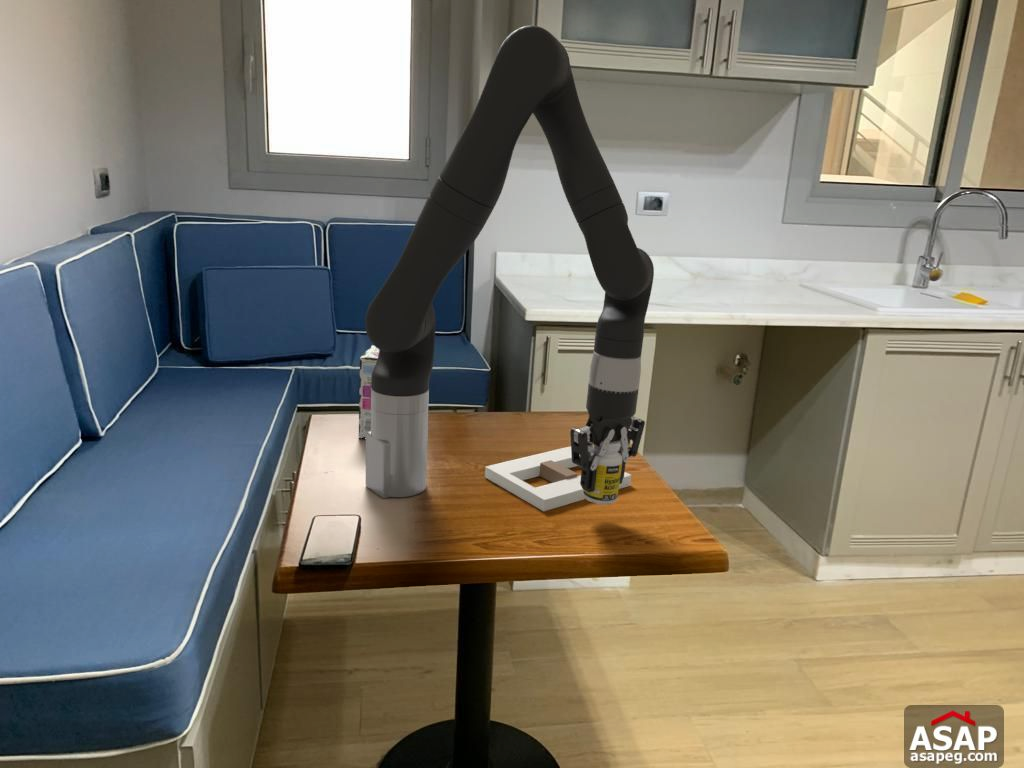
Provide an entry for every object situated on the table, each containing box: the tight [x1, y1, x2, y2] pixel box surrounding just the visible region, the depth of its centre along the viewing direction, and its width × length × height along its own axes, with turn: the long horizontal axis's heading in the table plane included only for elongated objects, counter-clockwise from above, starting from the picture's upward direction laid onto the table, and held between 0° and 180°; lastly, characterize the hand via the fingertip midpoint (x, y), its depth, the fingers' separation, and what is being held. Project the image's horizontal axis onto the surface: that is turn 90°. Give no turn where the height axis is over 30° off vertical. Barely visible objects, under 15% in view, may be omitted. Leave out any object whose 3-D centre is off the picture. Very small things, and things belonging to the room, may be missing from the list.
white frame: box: [484, 445, 632, 512], centre depth 136 cm, size 20×16×2 cm
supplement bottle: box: [583, 441, 623, 505], centre depth 120 cm, size 5×5×10 cm
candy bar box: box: [358, 345, 379, 439], centre depth 153 cm, size 11×5×16 cm, turn 178°
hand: (601, 485), depth 121 cm, fingers closed on supplement bottle, 5 cm apart
